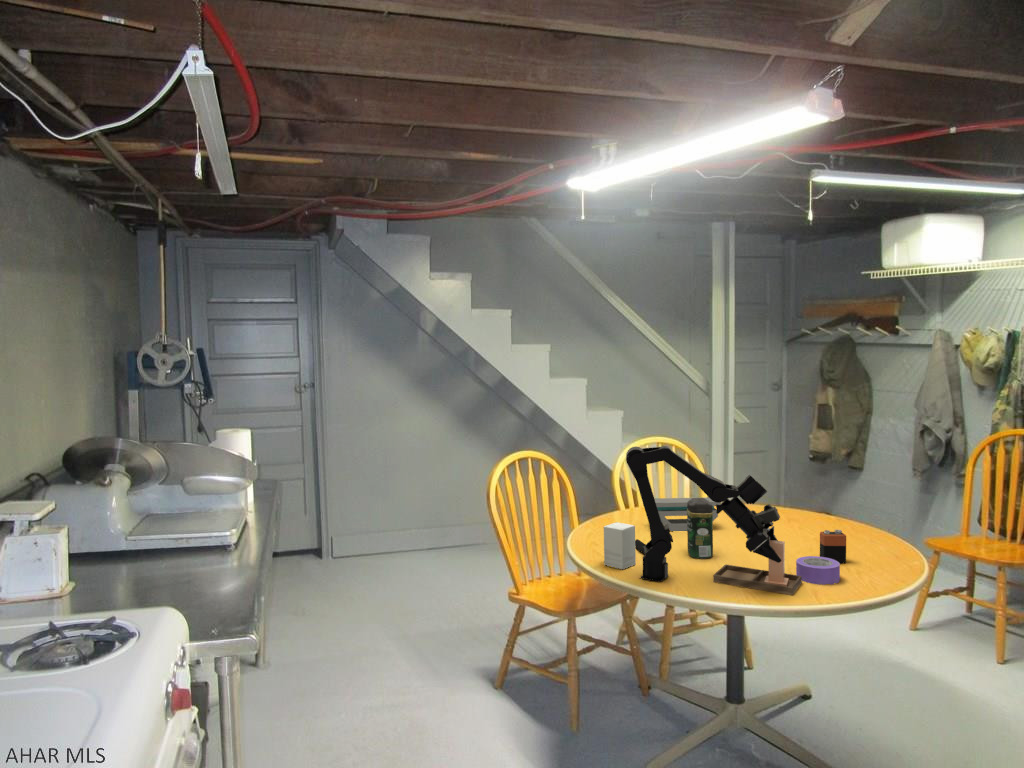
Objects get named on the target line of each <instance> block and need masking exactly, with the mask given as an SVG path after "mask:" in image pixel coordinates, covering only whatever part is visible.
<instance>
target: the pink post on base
mask: <svg viewBox="0 0 1024 768" xmlns="http://www.w3.org/2000/svg"><path fill="white" fill-rule="evenodd" d="M785 543H786V541H783V540H778V541H775V540H770V545H771V546H772V547H773V549H774V550H775V552H776V553H777V554H778V556H779V557H780V559H781V562H780V563H778V562H775V561H773V560H771V559H769V558H768V571H769V574H768V576H766V579H765V581H764V583H768V584H774V585H780V586H786V587H787V586H788V582H789V578H784V573H785V565H786V564H785V547H786V545H785Z"/></svg>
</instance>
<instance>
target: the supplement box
mask: <svg viewBox="0 0 1024 768" xmlns="http://www.w3.org/2000/svg"><path fill="white" fill-rule="evenodd" d="M635 540H636V525H633V524H629V523H623V522H618V521H617V522H613V523H610V524H607V525H604V526H603V557H604V558H603V559H604V560H603V564H604V566H605V565H607V566H606V567H609V566H611V567H610V568H613V567H615V568H614V569H618V568H619V569H618V570H622V569H623V570H625V568H626V569H628V567H629V568H631V567H633V565H634V566H636V564H637V563H636V561H637V560H636V559H637V557H636V547H635ZM630 566H631V567H630Z"/></svg>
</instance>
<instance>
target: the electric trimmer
mask: <svg viewBox="0 0 1024 768" xmlns="http://www.w3.org/2000/svg"><path fill="white" fill-rule="evenodd" d="M646 544H647V543H644V542H643V541H642V540H639V539H636V538H635V549H637V551H639V553H642V554H644V555H645V551H644V546H645V545H646Z"/></svg>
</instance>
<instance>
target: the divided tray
mask: <svg viewBox="0 0 1024 768" xmlns="http://www.w3.org/2000/svg"><path fill="white" fill-rule="evenodd" d="M768 574H769V570H766V569H765V570H764V569H758V568H751V567H744V566H739V565H732V564H724V565H723V566H721V568H720V569H718V571H716V572H715V573H713V579H712V581H713V583H716V582H717V584H722V585H723V584H724V585H728V586H733V587H741V588H747V589H753V590H757V591H758V590H760V591H765V592H770V593H776V594H783V595H789V596H793V595H794V594H795V593H796V592H797V590H798V589H799V587H800V586H801V585H802V584H803V581H802V576H798V575H796V574H790V573H786V572H784V578H789V582H788V586H787V587H786V586H780V585H774V584H768V583H764V581H765V579H766V576H768Z"/></svg>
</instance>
